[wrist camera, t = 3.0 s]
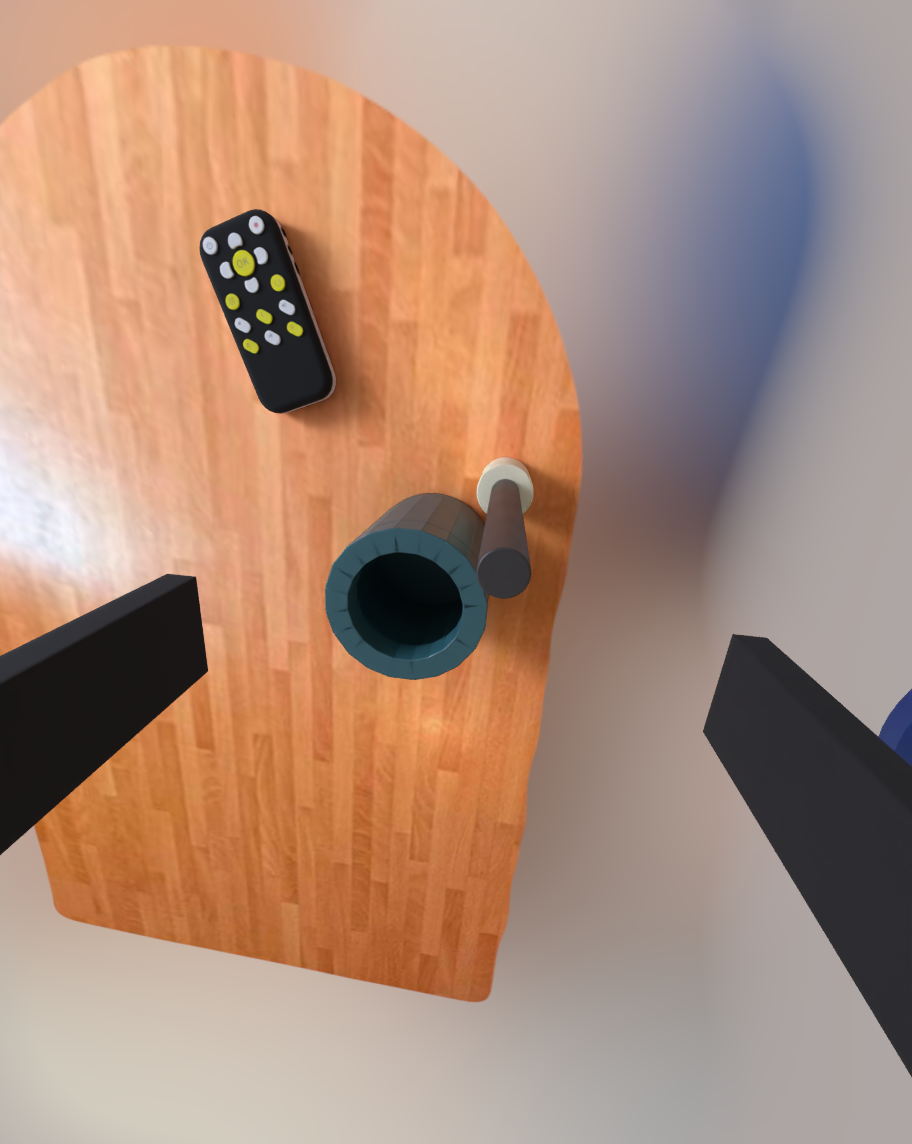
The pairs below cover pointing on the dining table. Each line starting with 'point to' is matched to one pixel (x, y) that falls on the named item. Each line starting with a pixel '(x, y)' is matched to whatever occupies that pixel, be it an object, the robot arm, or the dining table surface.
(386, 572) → the jar
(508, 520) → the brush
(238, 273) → the remote control
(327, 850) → the dining table surface
